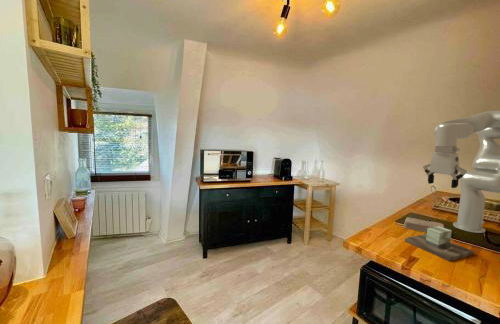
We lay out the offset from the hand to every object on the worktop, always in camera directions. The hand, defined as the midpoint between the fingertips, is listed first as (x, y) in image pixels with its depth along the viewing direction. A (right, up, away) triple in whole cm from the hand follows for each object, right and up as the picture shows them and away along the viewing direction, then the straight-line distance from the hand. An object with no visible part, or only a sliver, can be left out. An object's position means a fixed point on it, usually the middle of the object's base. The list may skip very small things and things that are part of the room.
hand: (441, 185), depth 107 cm
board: (-8, -27, -7) cm, 29 cm away
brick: (+1, -26, +12) cm, 28 cm away
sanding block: (-8, -26, -7) cm, 28 cm away
